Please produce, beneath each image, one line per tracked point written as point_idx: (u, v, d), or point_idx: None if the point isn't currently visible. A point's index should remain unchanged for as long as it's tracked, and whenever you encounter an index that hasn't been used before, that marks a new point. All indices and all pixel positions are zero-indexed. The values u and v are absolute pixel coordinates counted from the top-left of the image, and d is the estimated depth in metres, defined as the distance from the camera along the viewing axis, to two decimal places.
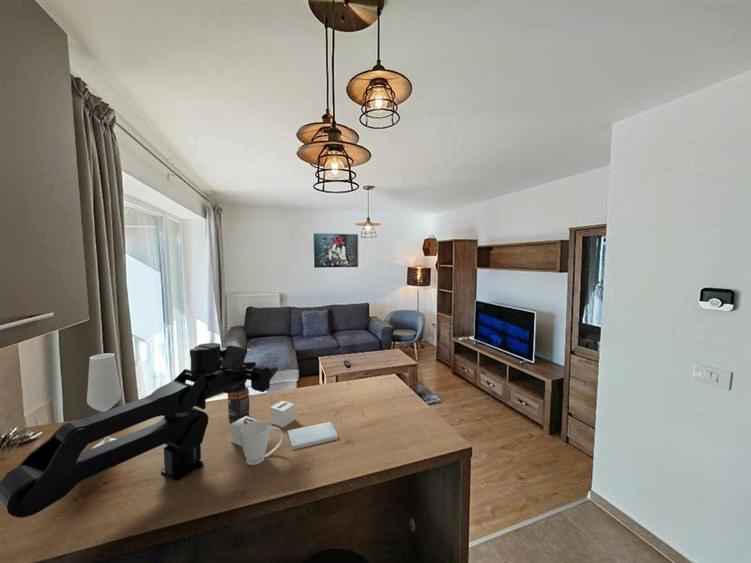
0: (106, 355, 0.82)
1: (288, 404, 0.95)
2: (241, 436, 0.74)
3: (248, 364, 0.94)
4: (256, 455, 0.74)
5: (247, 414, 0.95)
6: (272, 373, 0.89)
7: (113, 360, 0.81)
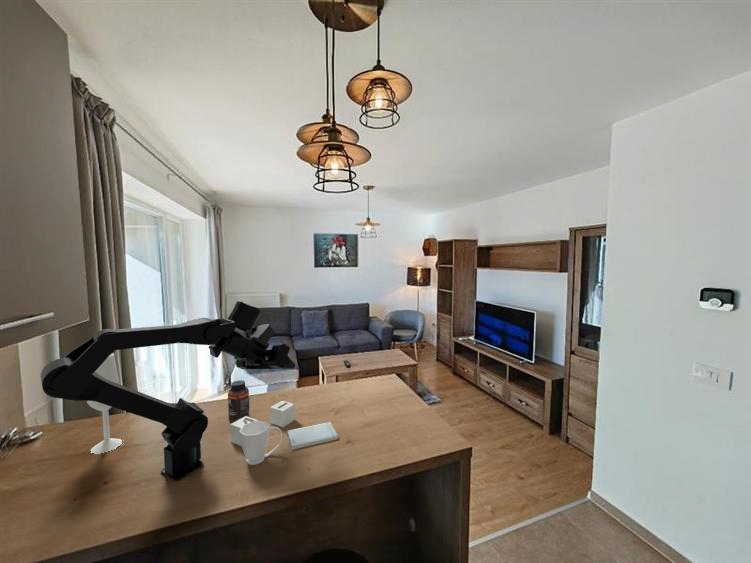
0: None
1: (288, 404, 0.95)
2: (241, 436, 0.74)
3: (268, 362, 0.93)
4: (256, 455, 0.74)
5: (247, 414, 0.95)
6: (289, 364, 0.87)
7: (113, 360, 0.81)
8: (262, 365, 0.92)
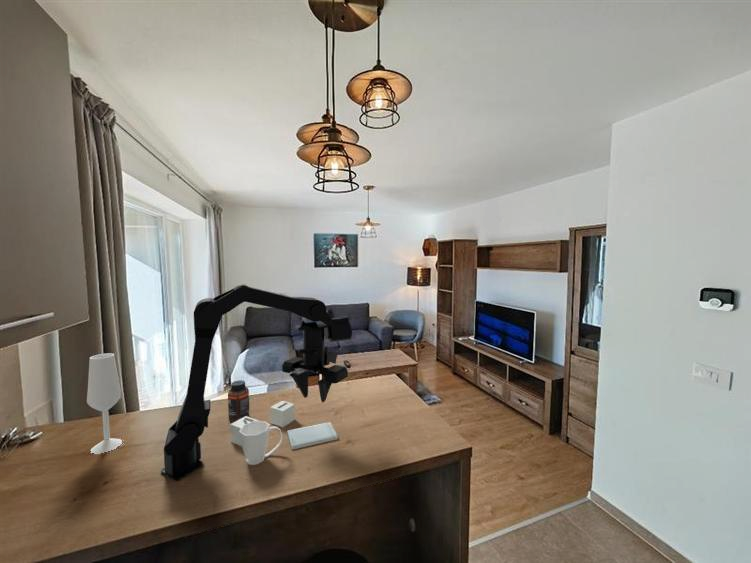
0: (106, 355, 0.82)
1: (288, 404, 0.95)
2: (241, 436, 0.74)
3: (306, 387, 0.89)
4: (256, 455, 0.74)
5: (247, 414, 0.95)
6: (325, 393, 0.85)
7: (113, 360, 0.81)
8: (302, 384, 0.88)
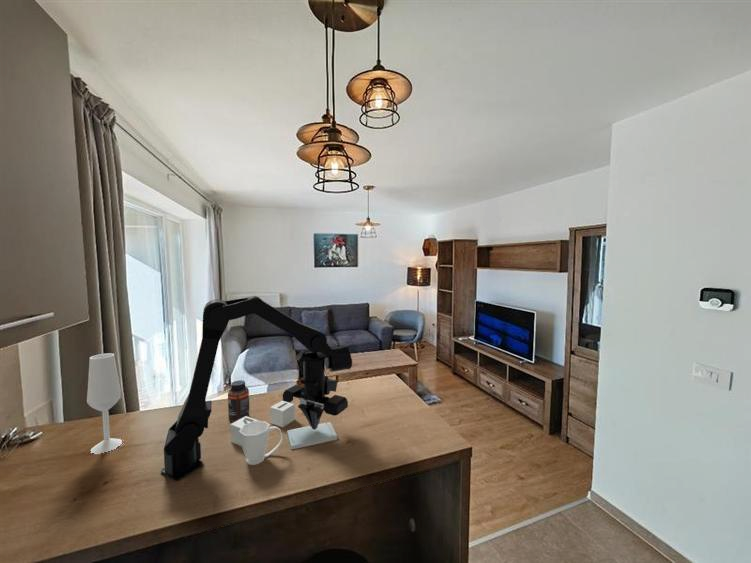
0: (106, 355, 0.82)
1: (288, 404, 0.95)
2: (241, 436, 0.74)
3: None
4: (256, 455, 0.74)
5: (247, 414, 0.95)
6: (317, 420, 0.86)
7: (113, 360, 0.81)
8: (311, 416, 0.87)
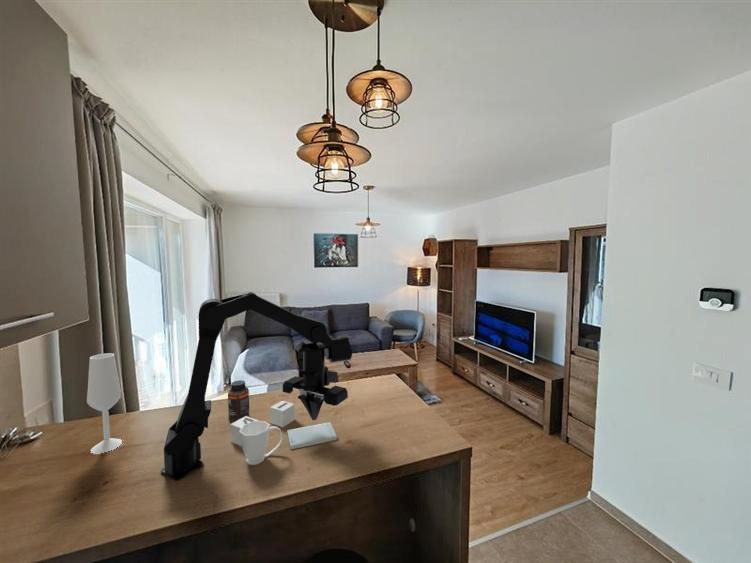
0: (106, 355, 0.82)
1: (288, 404, 0.95)
2: (241, 436, 0.74)
3: None
4: (256, 455, 0.74)
5: (247, 414, 0.95)
6: (316, 411, 0.86)
7: (113, 360, 0.81)
8: (311, 407, 0.87)
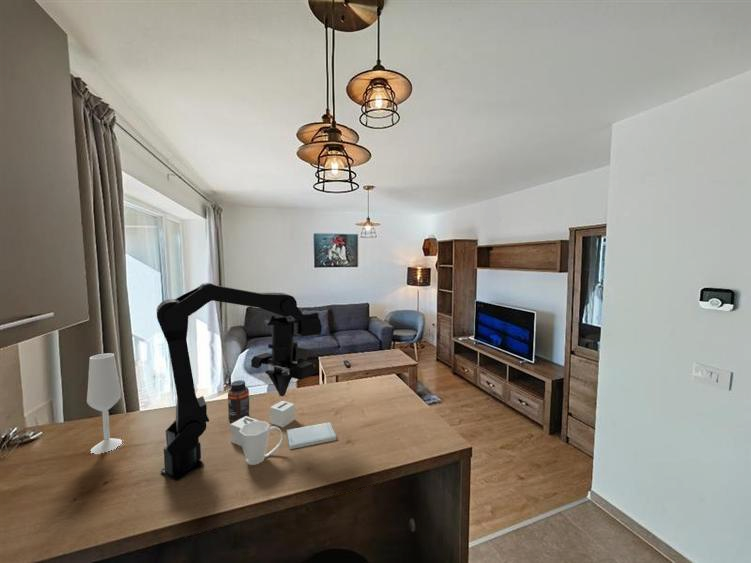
0: (106, 355, 0.82)
1: (288, 404, 0.95)
2: (241, 436, 0.74)
3: None
4: (256, 455, 0.74)
5: (247, 414, 0.95)
6: (284, 387, 0.85)
7: (113, 360, 0.81)
8: None
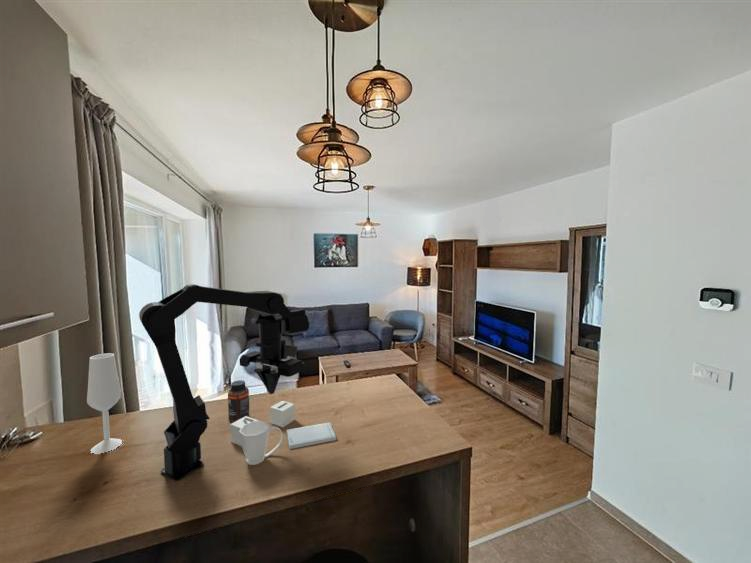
0: (106, 355, 0.82)
1: (288, 404, 0.95)
2: (241, 436, 0.74)
3: None
4: (256, 455, 0.74)
5: (247, 414, 0.95)
6: (273, 384, 0.85)
7: (113, 360, 0.81)
8: None
